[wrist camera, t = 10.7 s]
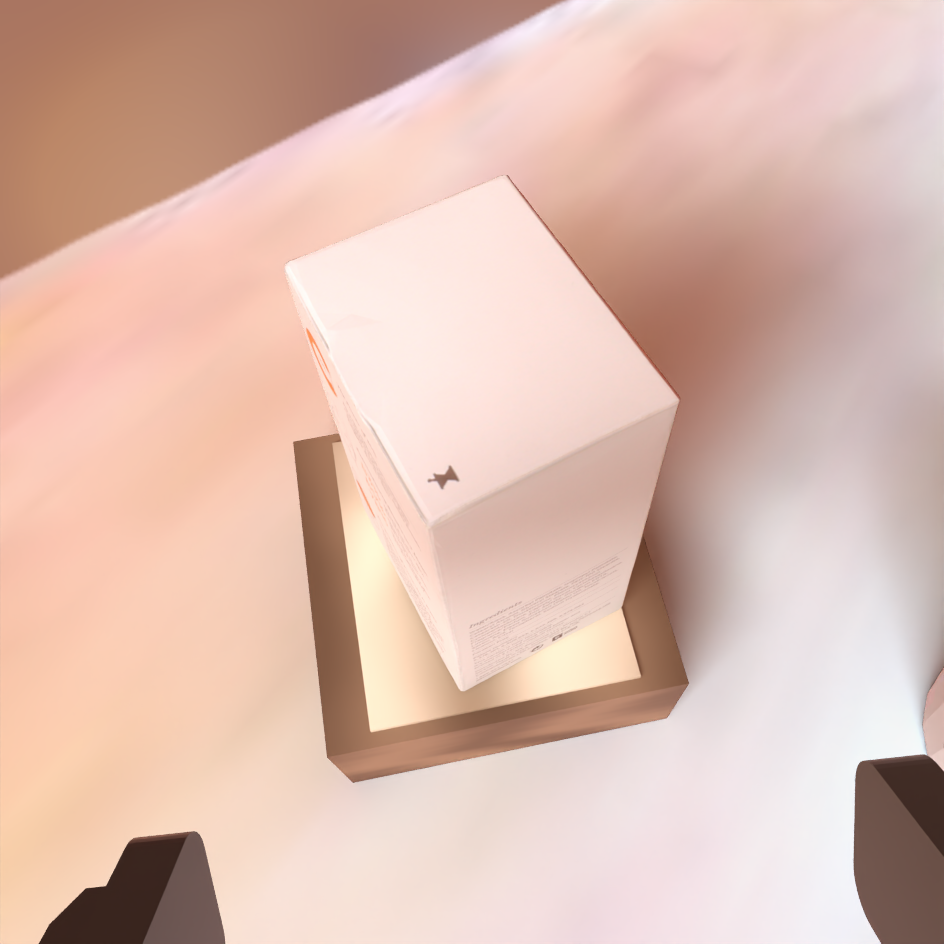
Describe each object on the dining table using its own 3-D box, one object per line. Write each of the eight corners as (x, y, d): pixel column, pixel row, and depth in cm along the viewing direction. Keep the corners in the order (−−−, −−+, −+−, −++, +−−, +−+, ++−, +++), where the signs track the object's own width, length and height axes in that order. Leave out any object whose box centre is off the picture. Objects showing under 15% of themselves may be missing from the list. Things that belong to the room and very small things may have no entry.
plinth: (587, 448, 39) (597, 382, 35) (666, 718, 33) (690, 682, 29) (319, 499, 39) (292, 439, 34) (353, 782, 33) (325, 756, 28)
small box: (626, 609, 30) (691, 401, 19) (460, 698, 29) (421, 535, 18) (511, 430, 34) (507, 164, 22) (359, 503, 33) (272, 261, 21)
